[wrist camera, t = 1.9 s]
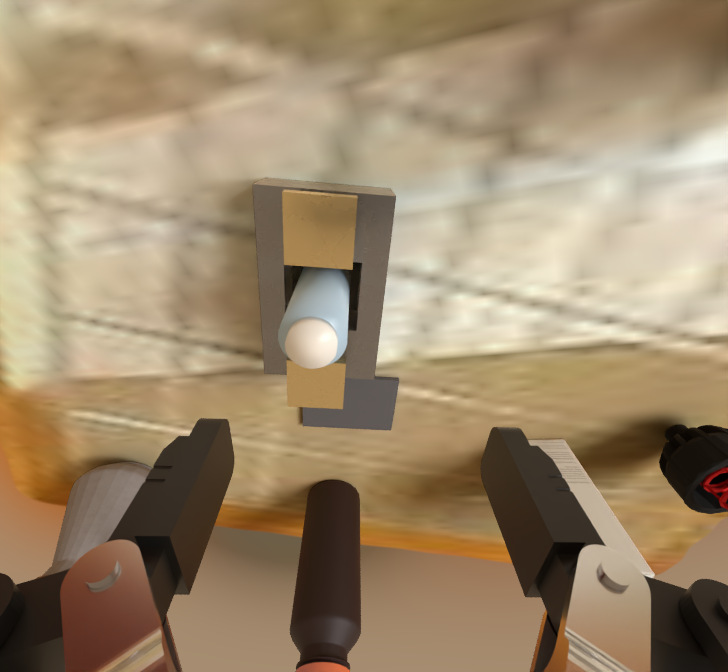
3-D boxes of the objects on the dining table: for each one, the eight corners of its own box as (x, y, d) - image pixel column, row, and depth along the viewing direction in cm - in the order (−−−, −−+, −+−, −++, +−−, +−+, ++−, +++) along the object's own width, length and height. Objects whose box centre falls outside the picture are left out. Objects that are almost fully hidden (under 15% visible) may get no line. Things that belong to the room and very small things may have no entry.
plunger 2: (295, 330, 31) (286, 360, 27) (347, 333, 32) (345, 363, 28) (296, 372, 34) (287, 406, 29) (344, 375, 34) (342, 409, 30)
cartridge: (301, 252, 31) (273, 312, 21) (351, 256, 32) (349, 317, 21) (301, 299, 34) (276, 374, 23) (348, 302, 34) (344, 378, 23)
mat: (303, 372, 38) (302, 375, 37) (398, 378, 38) (398, 380, 38) (303, 422, 41) (302, 426, 41) (390, 427, 42) (390, 430, 41)
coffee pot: (141, 521, 49) (63, 662, 36) (67, 473, 44) (-54, 615, 31) (262, 461, 44) (221, 600, 31) (192, 399, 39) (110, 533, 26)
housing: (265, 177, 28) (252, 184, 25) (391, 188, 29) (395, 196, 25) (273, 350, 36) (264, 373, 33) (372, 356, 37) (374, 379, 33)
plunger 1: (294, 182, 26) (282, 191, 21) (357, 187, 26) (357, 198, 22) (294, 244, 28) (284, 264, 24) (353, 249, 28) (352, 269, 24)
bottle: (297, 498, 47) (263, 710, 30) (329, 470, 45) (312, 684, 28) (337, 518, 50) (327, 727, 32) (370, 493, 47) (378, 704, 30)
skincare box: (548, 483, 47) (626, 625, 33) (497, 484, 47) (555, 627, 33) (565, 435, 43) (662, 576, 29) (509, 437, 43) (581, 578, 29)
